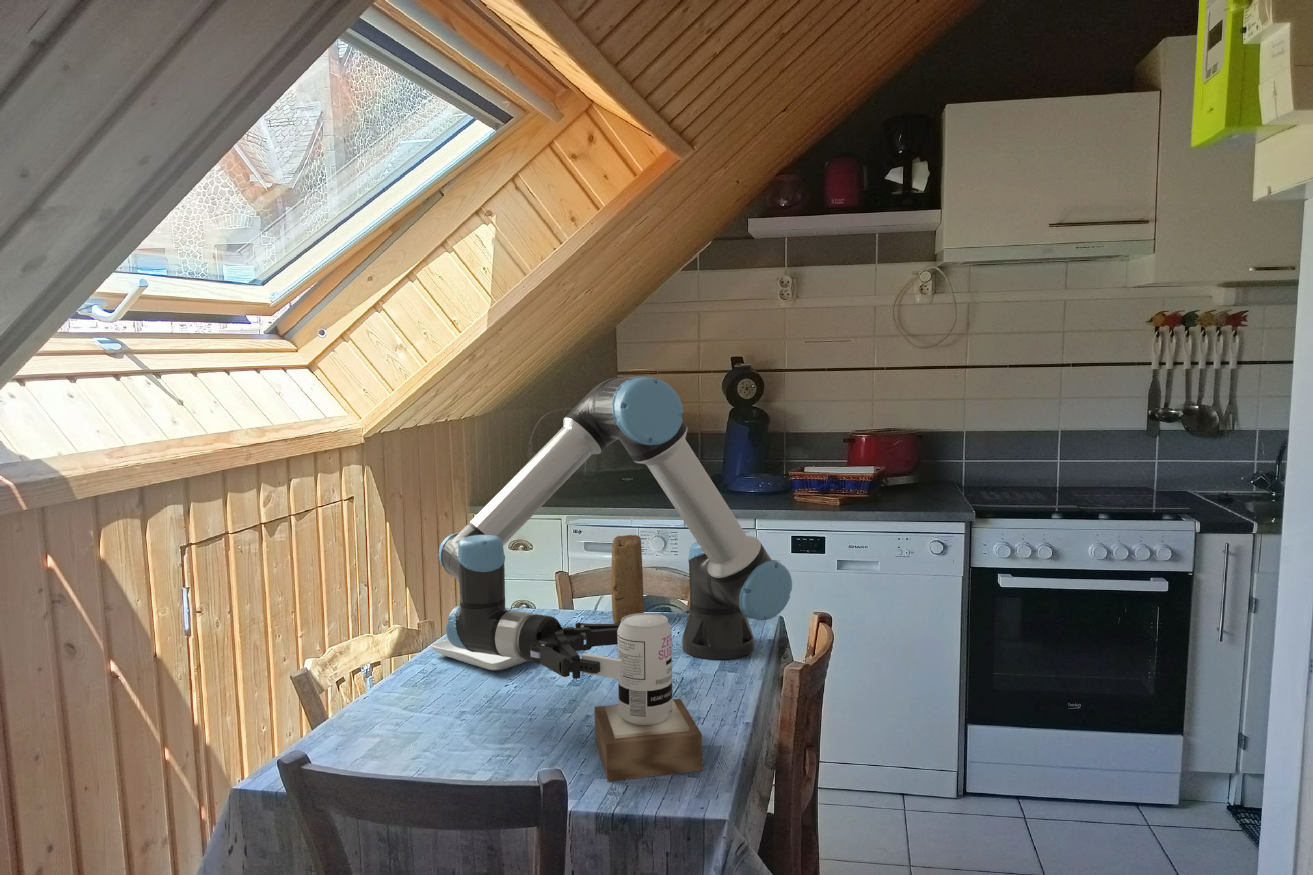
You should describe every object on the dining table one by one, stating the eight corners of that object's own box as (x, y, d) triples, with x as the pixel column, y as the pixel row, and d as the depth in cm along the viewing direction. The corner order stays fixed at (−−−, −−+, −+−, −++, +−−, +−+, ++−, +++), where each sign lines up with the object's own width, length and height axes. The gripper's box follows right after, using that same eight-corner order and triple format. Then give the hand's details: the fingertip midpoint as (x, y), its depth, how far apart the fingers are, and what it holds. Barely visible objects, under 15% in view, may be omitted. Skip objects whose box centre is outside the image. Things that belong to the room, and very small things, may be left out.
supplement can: (616, 706, 133) (615, 613, 132) (669, 704, 134) (668, 610, 133) (620, 728, 125) (619, 628, 124) (676, 725, 126) (675, 626, 125)
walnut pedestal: (681, 731, 138) (680, 695, 138) (702, 770, 125) (701, 730, 124) (595, 740, 136) (594, 703, 135) (607, 781, 122) (606, 740, 121)
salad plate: (506, 634, 194) (505, 619, 193) (572, 652, 180) (572, 636, 180) (428, 659, 177) (427, 643, 177) (494, 681, 164) (494, 663, 164)
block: (643, 627, 196) (641, 541, 194) (611, 627, 196) (609, 541, 194) (645, 613, 207) (643, 532, 205) (614, 614, 207) (612, 532, 205)
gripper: (573, 638, 150) (681, 654, 140) (481, 684, 128) (600, 708, 118) (572, 596, 149) (680, 610, 139) (479, 635, 128) (599, 655, 117)
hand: (644, 655), depth 129 cm, fingers open, 13 cm apart
